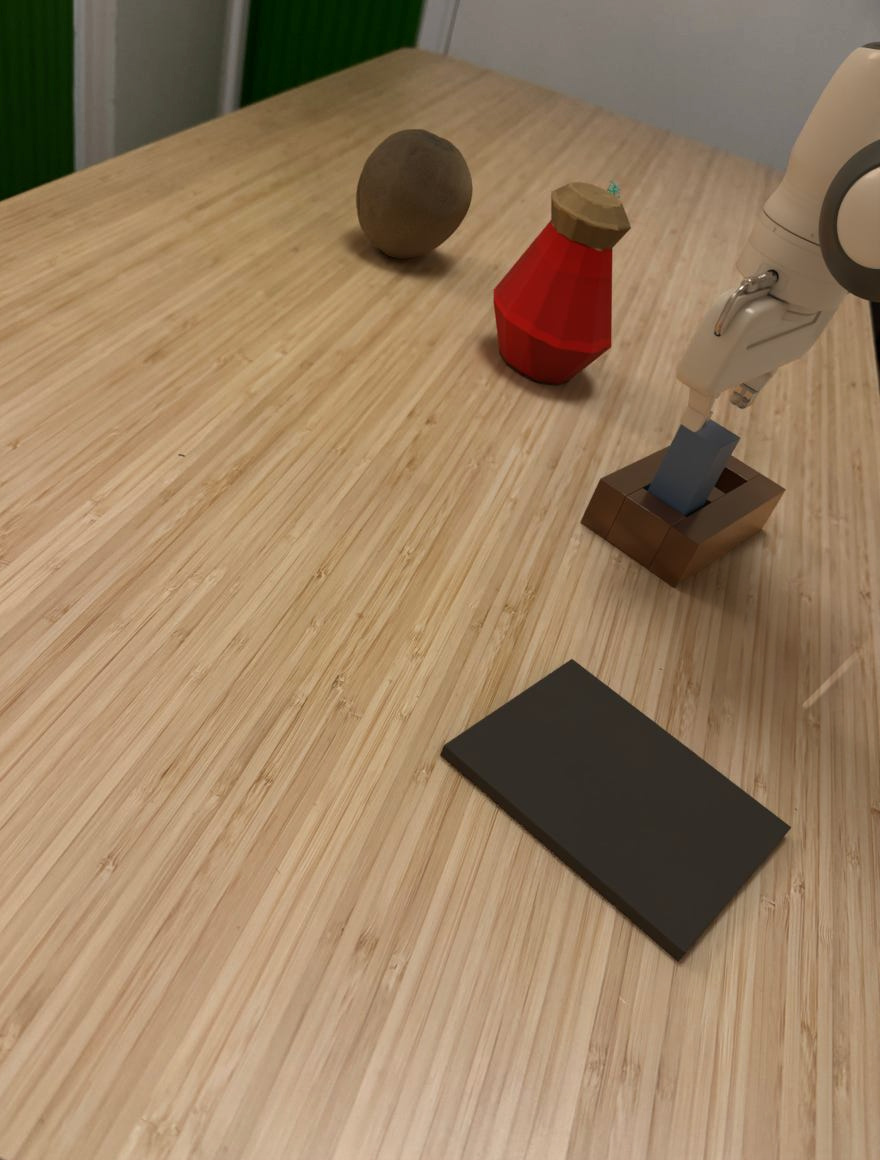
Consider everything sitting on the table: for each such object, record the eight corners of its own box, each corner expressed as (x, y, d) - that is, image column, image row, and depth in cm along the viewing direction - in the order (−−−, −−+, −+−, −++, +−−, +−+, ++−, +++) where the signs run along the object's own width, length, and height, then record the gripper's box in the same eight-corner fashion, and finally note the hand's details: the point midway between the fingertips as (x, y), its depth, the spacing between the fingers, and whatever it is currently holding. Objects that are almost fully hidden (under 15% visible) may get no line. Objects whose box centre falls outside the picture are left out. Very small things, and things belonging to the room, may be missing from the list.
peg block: (762, 529, 107) (786, 489, 104) (674, 588, 94) (698, 544, 91) (675, 472, 111) (696, 432, 108) (580, 522, 98) (600, 478, 95)
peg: (683, 543, 100) (741, 437, 93) (662, 556, 98) (720, 448, 90) (648, 519, 102) (702, 413, 94) (626, 531, 99) (680, 423, 92)
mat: (784, 835, 74) (791, 827, 73) (678, 961, 63) (685, 953, 62) (567, 667, 81) (572, 658, 81) (439, 754, 71) (443, 744, 70)
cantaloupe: (415, 287, 130) (450, 165, 120) (324, 240, 133) (351, 117, 124) (467, 265, 140) (503, 151, 131) (381, 222, 144) (410, 107, 134)
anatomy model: (572, 165, 174) (586, 175, 169) (614, 176, 176) (629, 185, 171) (562, 197, 177) (575, 207, 171) (603, 207, 179) (618, 218, 174)
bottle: (615, 398, 121) (690, 230, 108) (525, 402, 114) (594, 223, 101) (541, 330, 130) (602, 168, 117) (453, 330, 123) (508, 158, 110)
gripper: (777, 301, 74) (691, 462, 83) (875, 269, 88) (791, 410, 97) (705, 260, 77) (628, 421, 85) (811, 236, 90) (735, 376, 99)
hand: (716, 415), depth 91 cm, fingers open, 8 cm apart
